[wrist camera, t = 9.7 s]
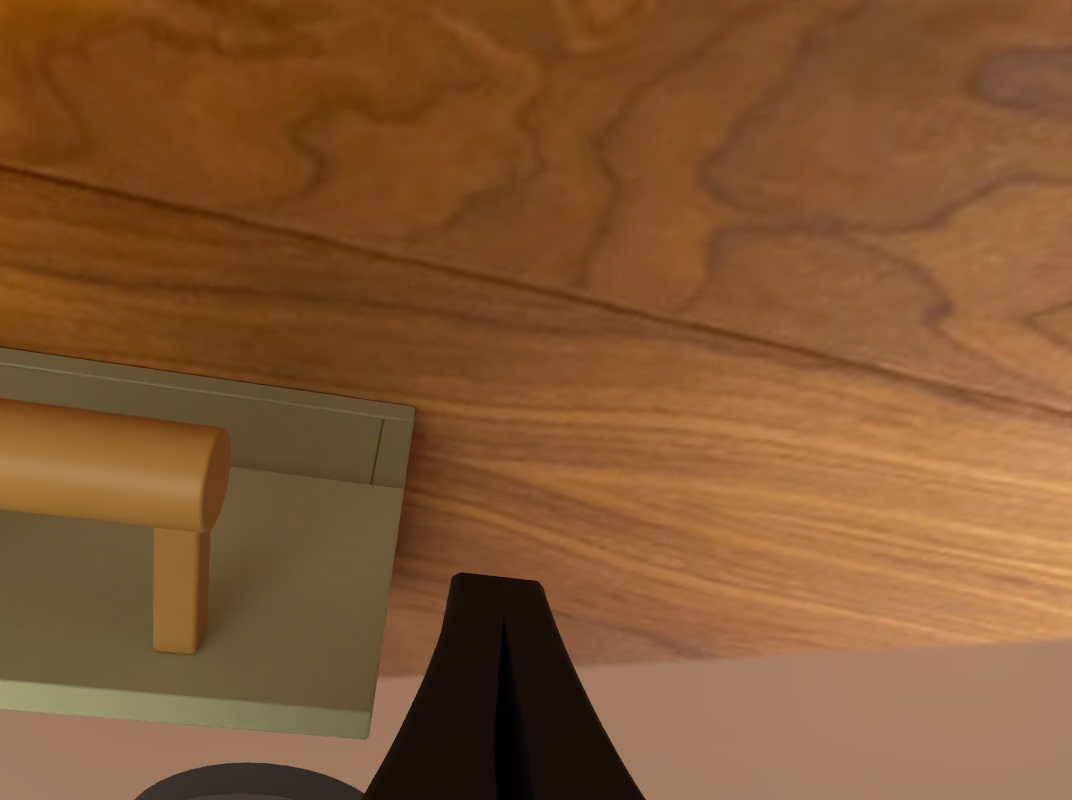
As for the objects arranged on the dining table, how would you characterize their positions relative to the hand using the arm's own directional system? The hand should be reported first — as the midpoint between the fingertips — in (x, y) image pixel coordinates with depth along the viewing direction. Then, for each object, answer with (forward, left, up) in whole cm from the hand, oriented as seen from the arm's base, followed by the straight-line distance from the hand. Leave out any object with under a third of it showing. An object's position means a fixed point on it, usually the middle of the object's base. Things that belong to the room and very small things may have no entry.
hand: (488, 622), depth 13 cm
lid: (-3, +7, -3) cm, 8 cm away
